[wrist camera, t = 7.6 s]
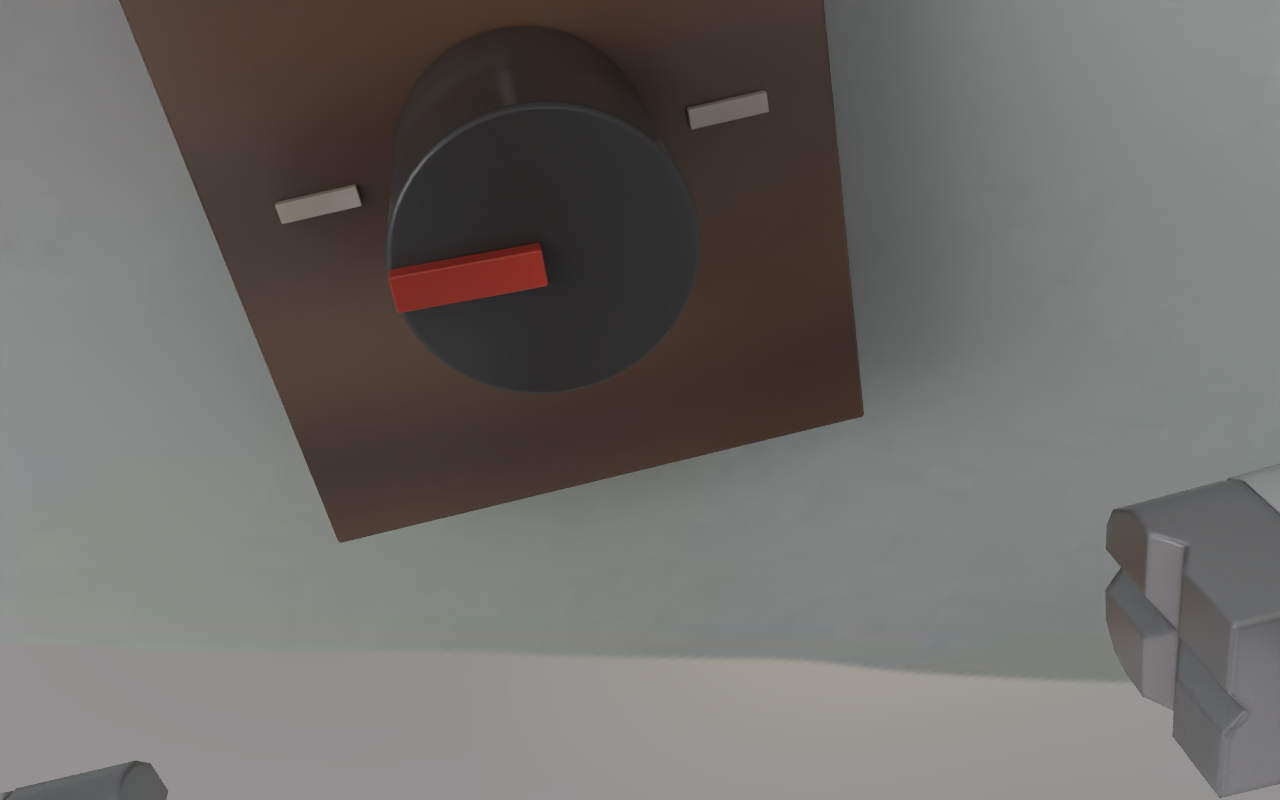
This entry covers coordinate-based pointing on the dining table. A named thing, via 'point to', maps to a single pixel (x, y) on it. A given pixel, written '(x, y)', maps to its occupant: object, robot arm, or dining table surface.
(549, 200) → the dial
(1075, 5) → the dining table surface
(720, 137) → the panel
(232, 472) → the dining table surface
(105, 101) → the dining table surface
